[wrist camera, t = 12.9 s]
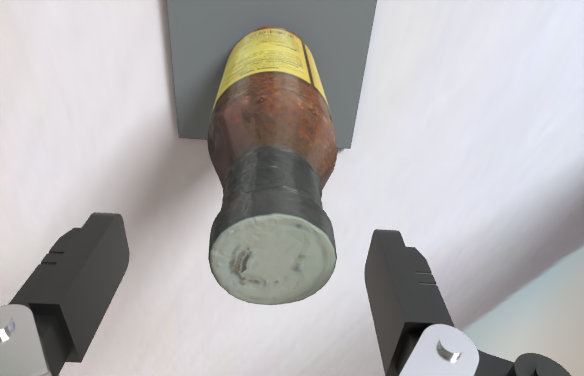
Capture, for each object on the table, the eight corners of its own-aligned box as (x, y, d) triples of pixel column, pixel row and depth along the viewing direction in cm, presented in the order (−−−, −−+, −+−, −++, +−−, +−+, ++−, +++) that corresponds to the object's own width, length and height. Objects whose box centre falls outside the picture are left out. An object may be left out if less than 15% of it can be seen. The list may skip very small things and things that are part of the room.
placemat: (377, -16, 26) (379, -14, 25) (348, 144, 33) (350, 148, 32) (166, -34, 25) (163, -33, 25) (181, 133, 32) (178, 137, 31)
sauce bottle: (212, 68, 28) (107, 259, 12) (270, 1, 26) (244, 121, 9) (277, 126, 31) (267, 351, 14) (335, 70, 28) (407, 260, 12)
